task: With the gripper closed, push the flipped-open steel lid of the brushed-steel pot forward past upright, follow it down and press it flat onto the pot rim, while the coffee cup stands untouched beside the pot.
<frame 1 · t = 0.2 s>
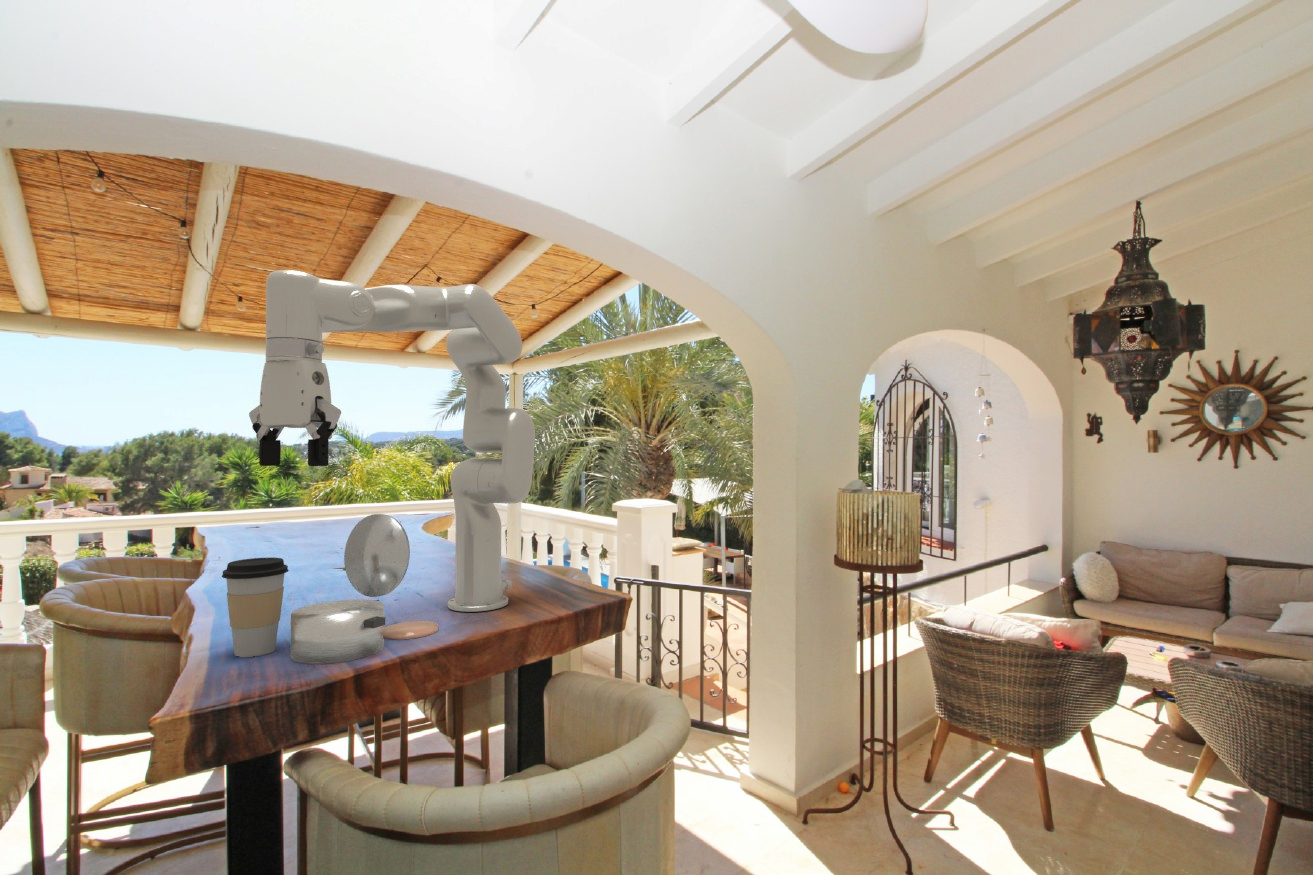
hand: (293, 465, 97), 31 cm above the table, tool pointing down, fingers open, 9 cm apart
lid: (378, 554, 115), point 15 cm above the table, hinge at 97.0°
pot: (338, 649, 107), on the table
coffee cup: (255, 653, 106), on the table
coaster: (409, 631, 118), on the table
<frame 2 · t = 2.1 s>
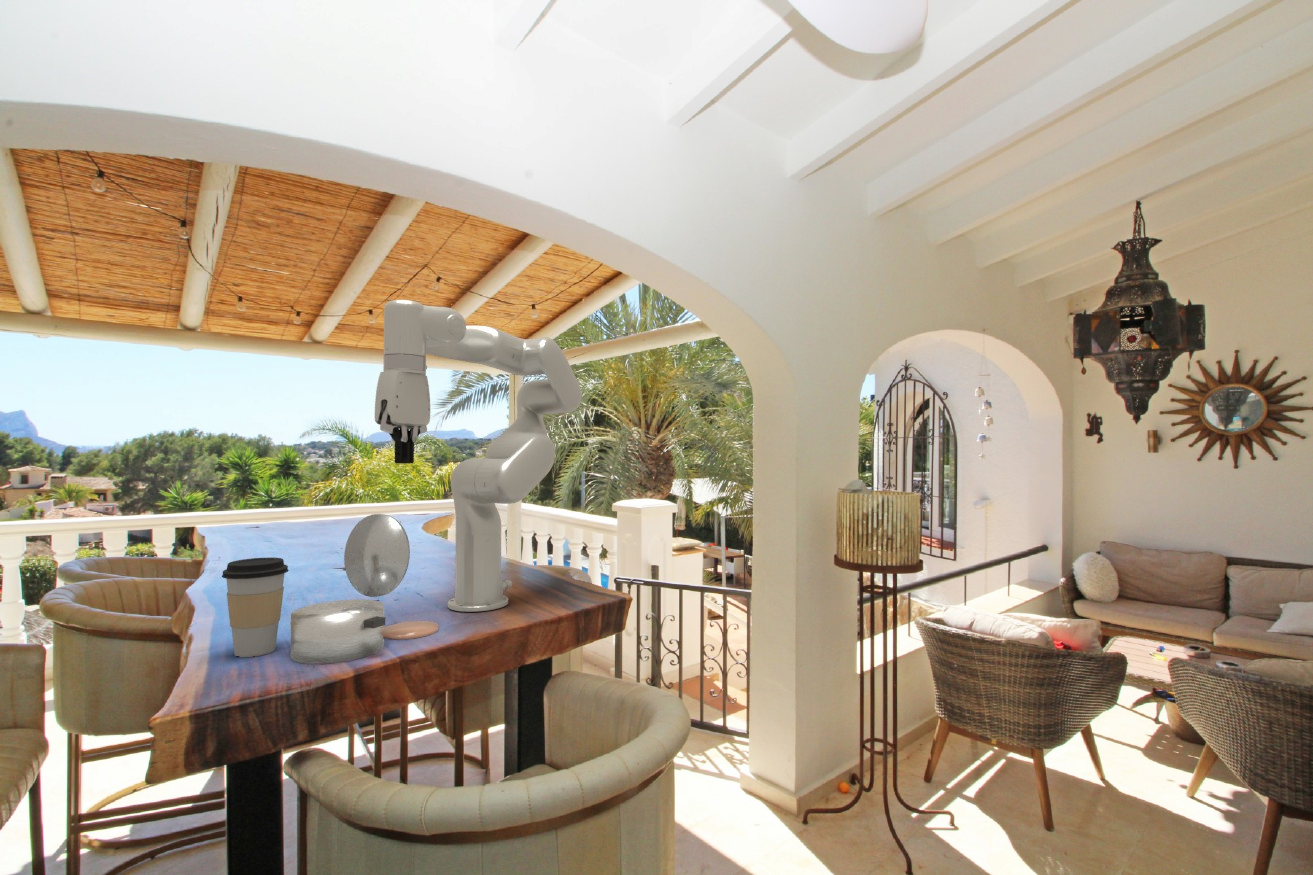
hand: (404, 463, 121), 31 cm above the table, tool pointing down, fingers closed
nothing on the table moved.
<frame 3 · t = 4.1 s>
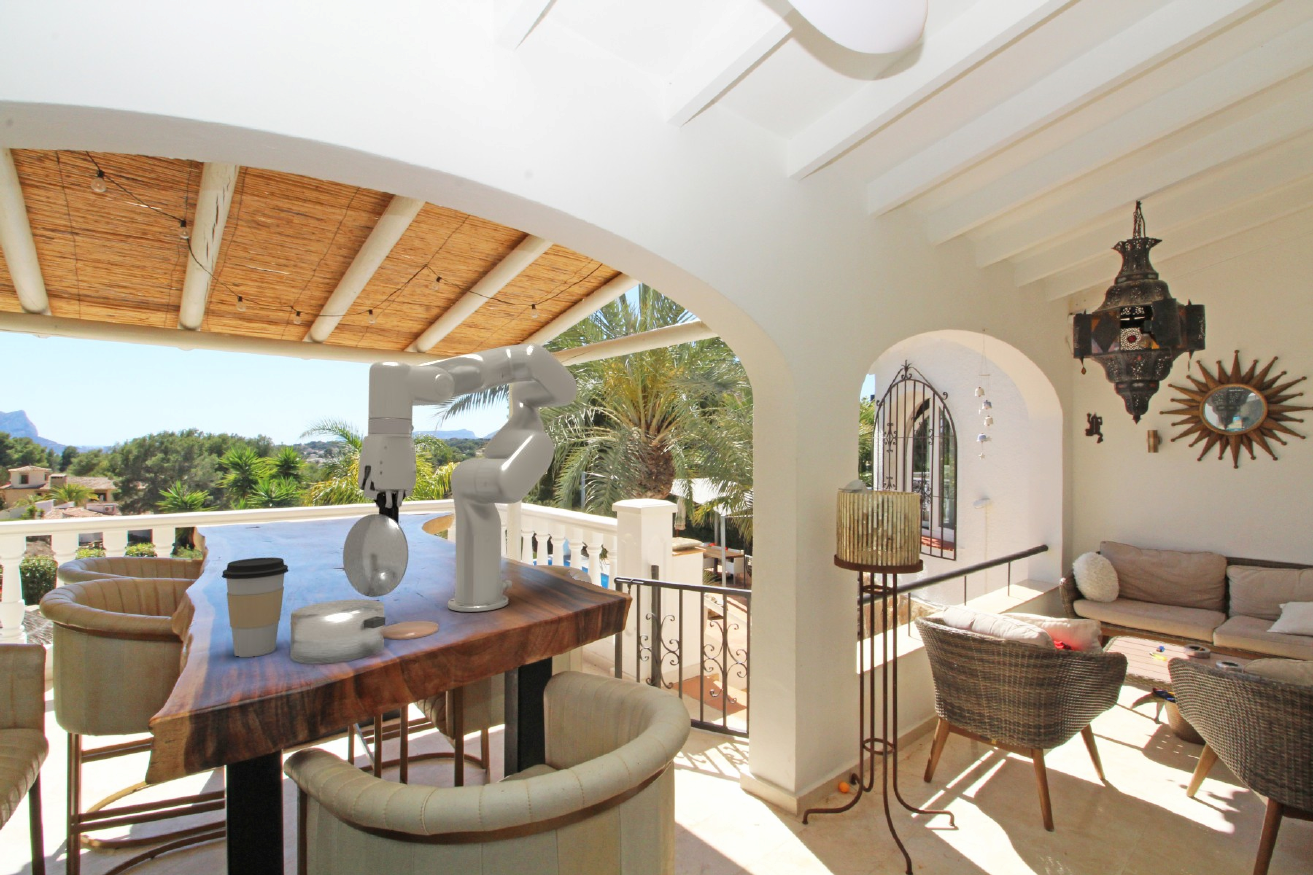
hand: (388, 529, 117), 19 cm above the table, tool pointing down, fingers closed
lid: (377, 554, 115), point 15 cm above the table, hinge at 94.5°, touching gripper
everything else where it was.
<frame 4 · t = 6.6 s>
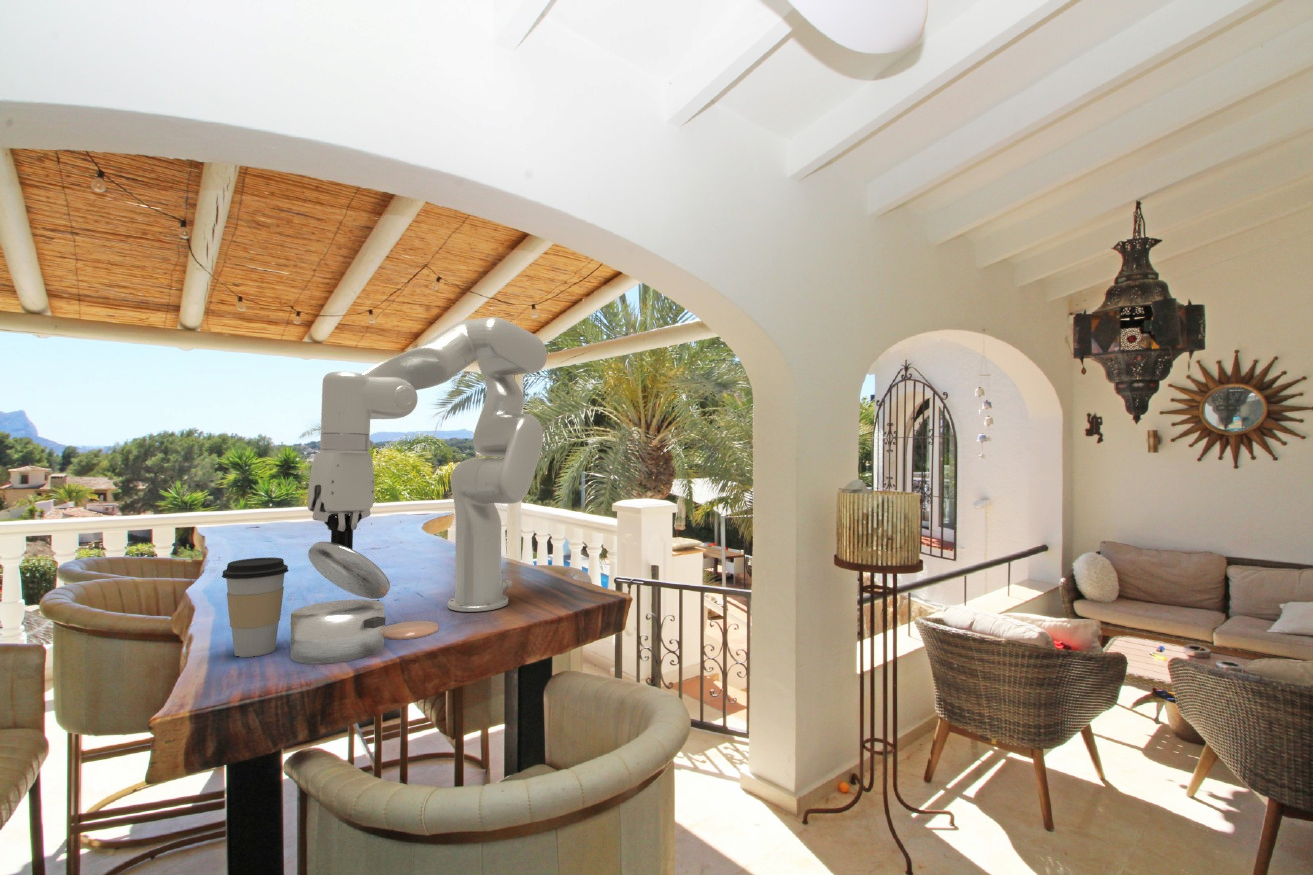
hand: (341, 553, 107), 16 cm above the table, tool pointing down, fingers closed
lid: (351, 568, 109), point 13 cm above the table, hinge at 47.3°, touching gripper
everything else where it was.
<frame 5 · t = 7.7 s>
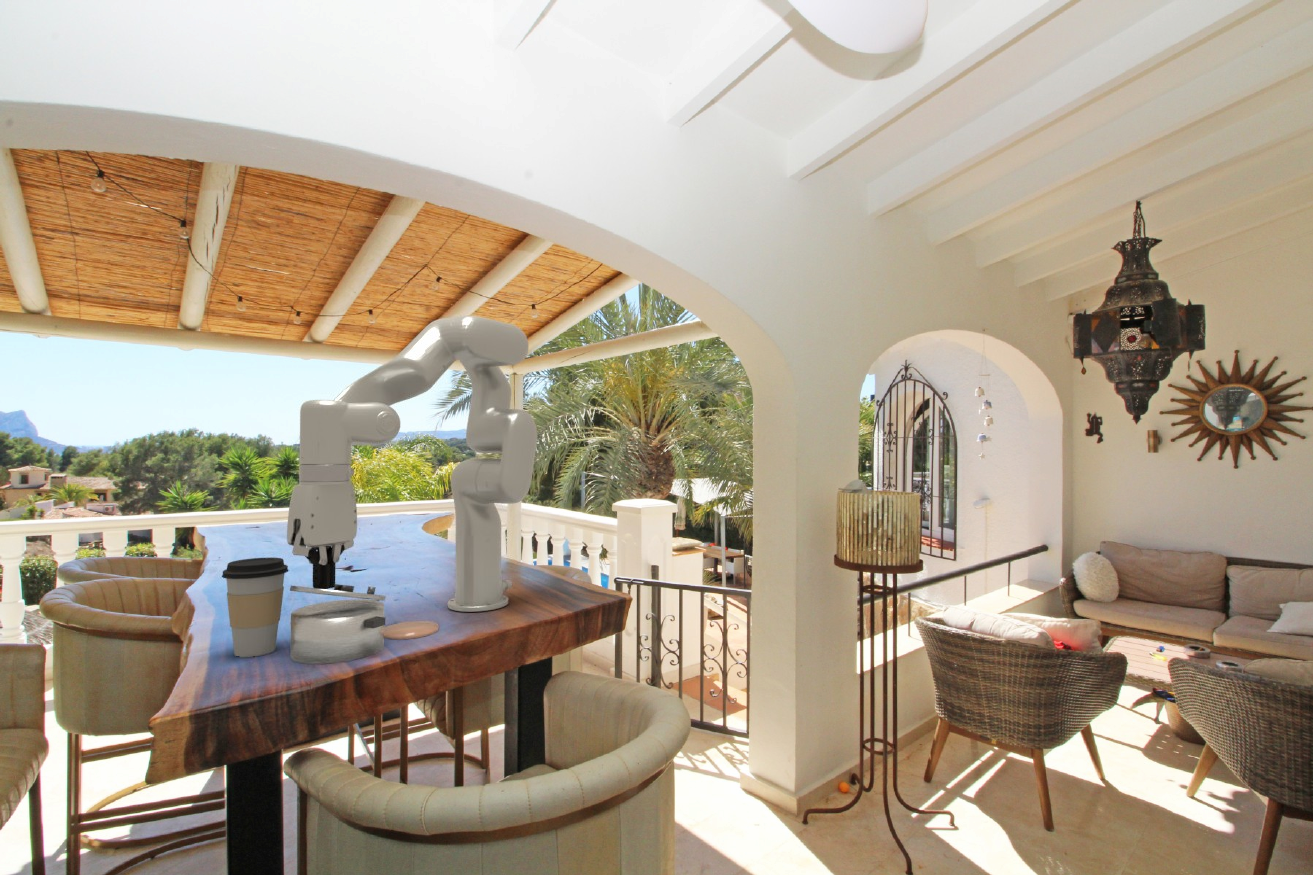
hand: (323, 587, 104), 11 cm above the table, tool pointing down, fingers closed
lid: (339, 589, 107), point 10 cm above the table, hinge at 16.2°, touching gripper
everything else where it was.
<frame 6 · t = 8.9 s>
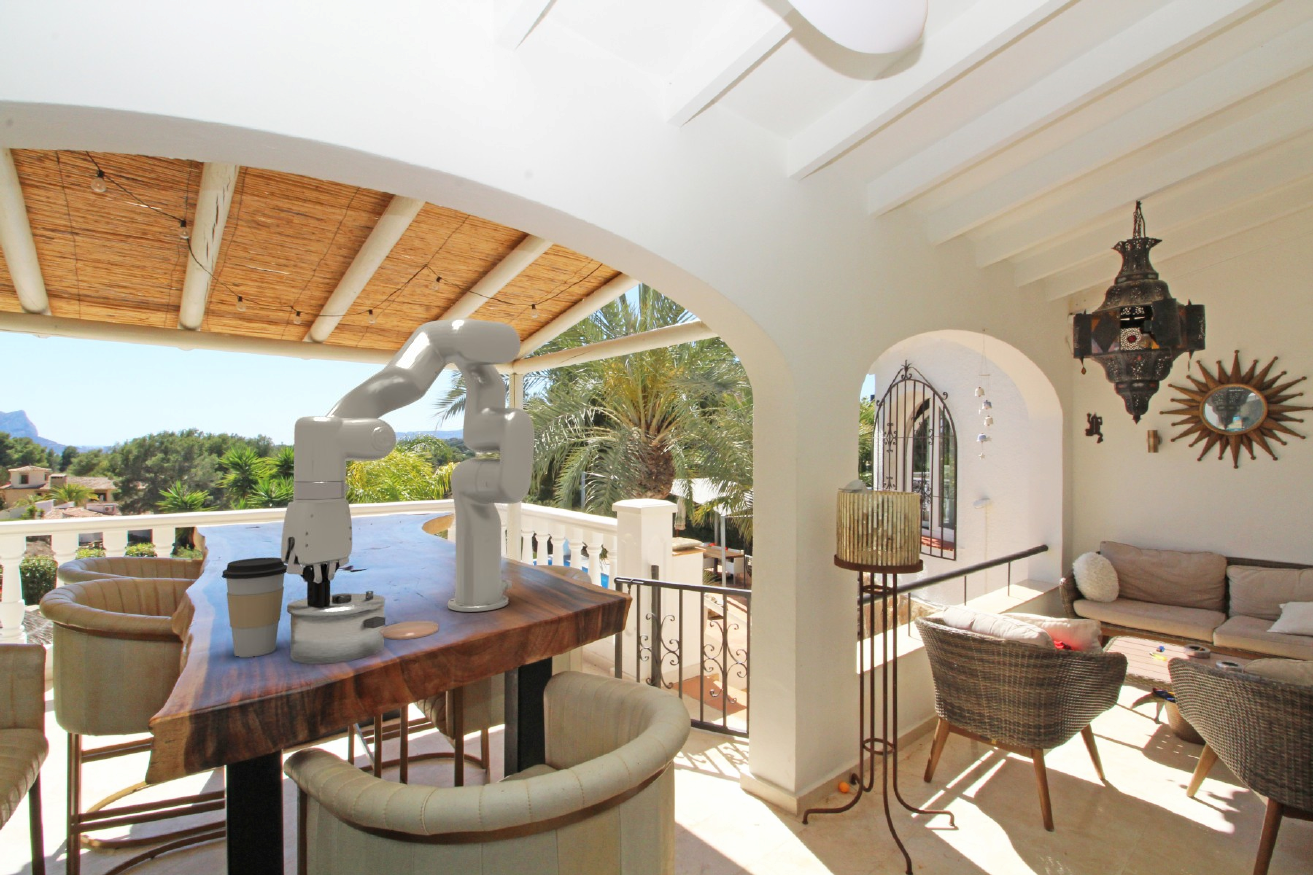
hand: (318, 605, 103), 8 cm above the table, tool pointing down, fingers closed
lid: (337, 600, 107), point 8 cm above the table, hinge at 2.1°, touching gripper
everything else where it was.
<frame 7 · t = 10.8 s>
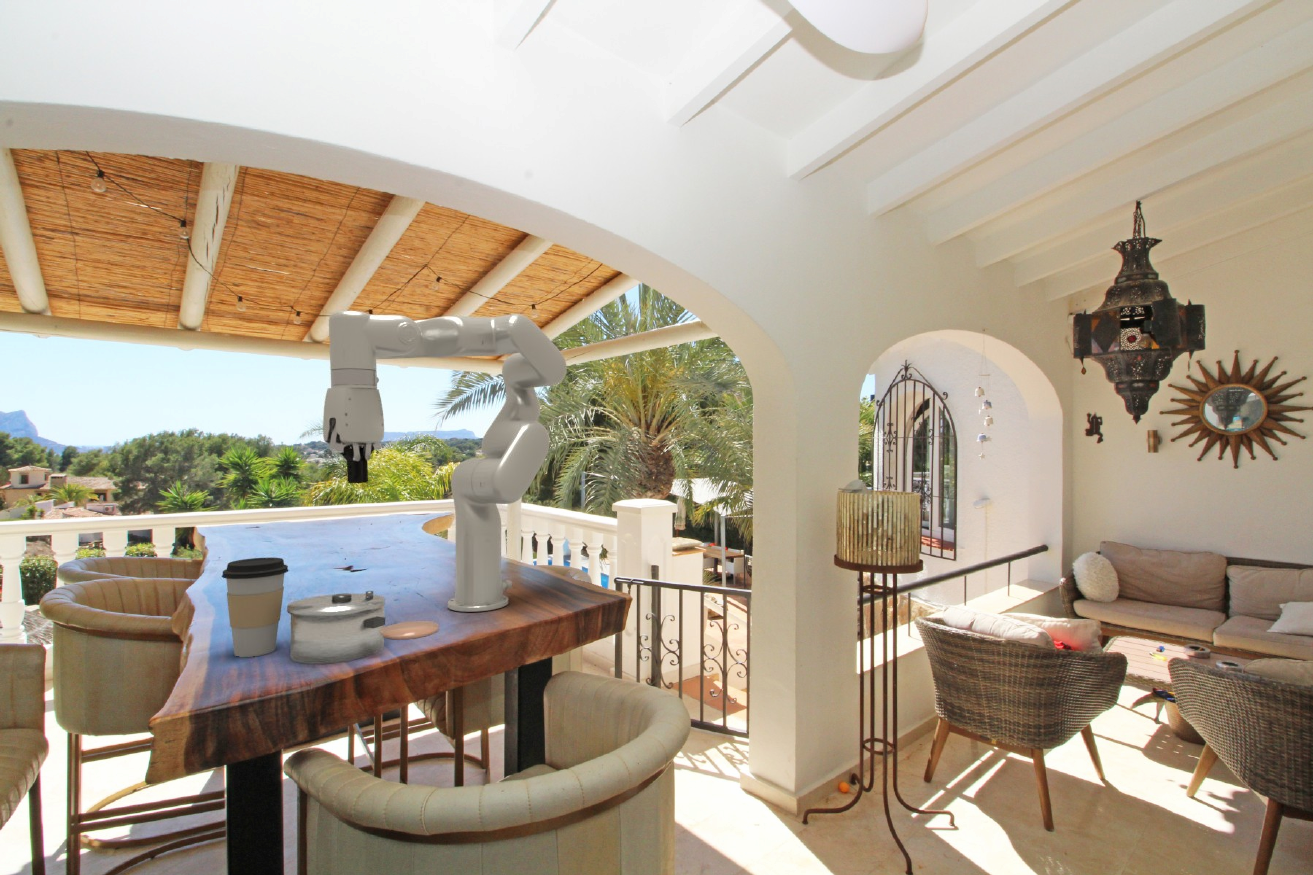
hand: (357, 482, 115), 28 cm above the table, tool pointing down, fingers closed
lid: (337, 600, 107), point 8 cm above the table, hinge at 2.0°
everything else where it was.
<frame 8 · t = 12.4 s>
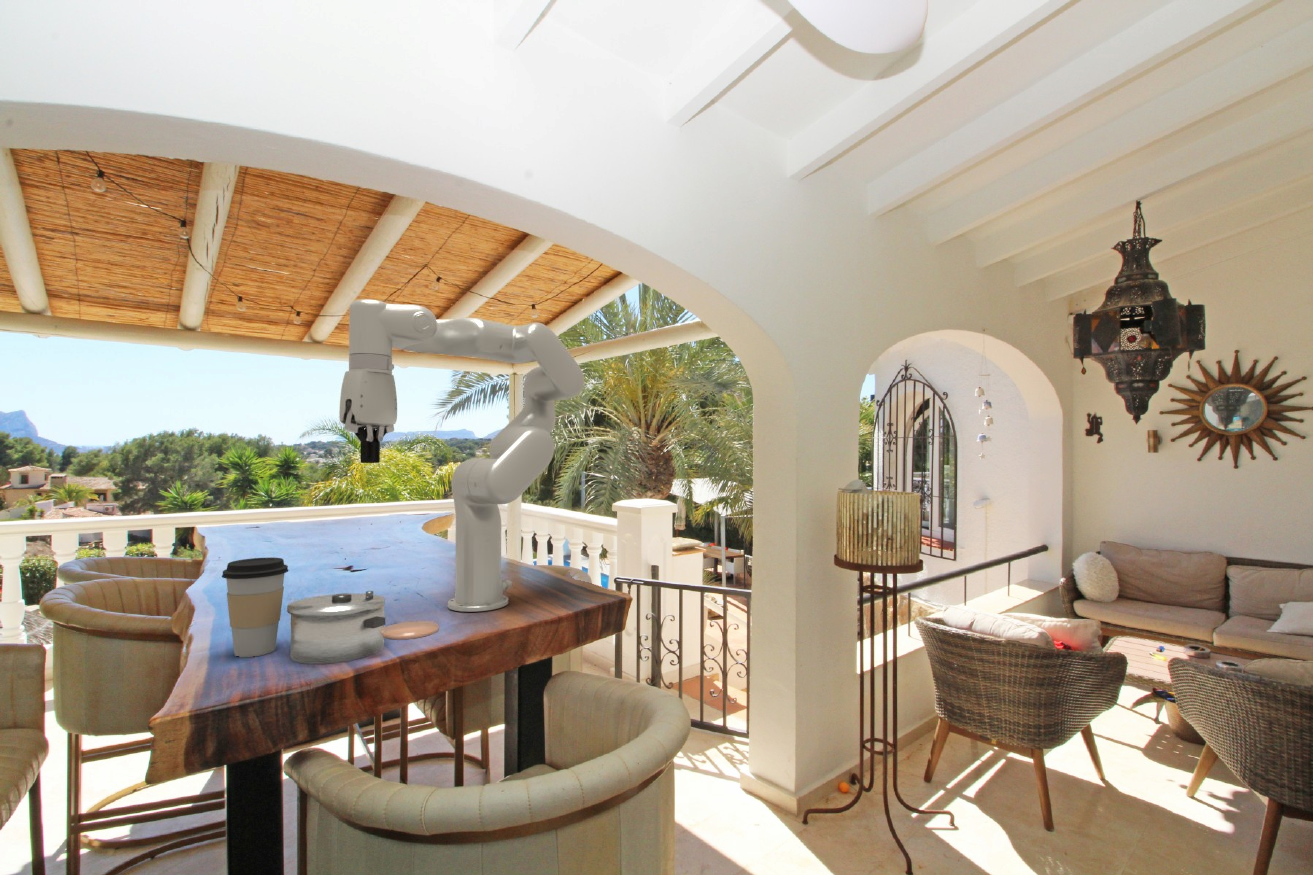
hand: (370, 462, 121), 31 cm above the table, tool pointing down, fingers closed
nothing on the table moved.
at the end: lid at +2° (first picture: +97°) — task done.
